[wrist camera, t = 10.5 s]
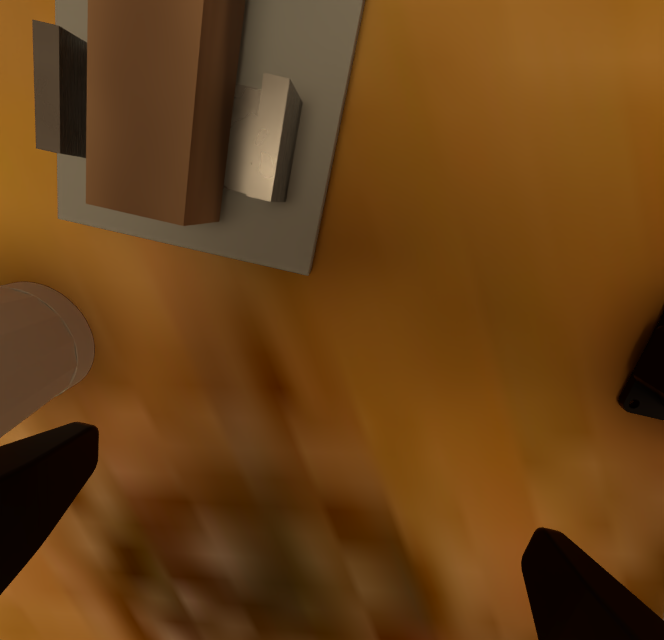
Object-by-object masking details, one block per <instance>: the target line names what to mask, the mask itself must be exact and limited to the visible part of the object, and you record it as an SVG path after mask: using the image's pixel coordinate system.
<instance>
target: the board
mask: <svg viewBox="0 0 664 640" xmlns="http://www.w3.org/2000/svg"><path fill="white" fill-rule="evenodd" d="M364 4H365V0H246V1H245V10H244V18H243V26H242V35H241V43H240V52H239V60H238V68H237V77H236V84H240V85H244V86H249V87H253V88H257V89H261V88H262V81H263V74H264V73H268V74H272V75H277V76H281V77H285V78H290V79H291V81H292V83H293V85H294V87H295V89H296V91H297V92H298V94H299V96H300V98H301V100H302V102H303V105H302V110H301V116H300V122H299V128H298V134H297V140H296V146H295V152H294V158H293V163H292V169H291V175H290V181H289V187H288V193H287V199H286V202H269V201H265V200H261V199H256V198H252V197H248V196H247V194H245V193H241V192H236V191H232V190H228V189H223V195H222V203H221V211H220V220H219V222H213V223H205V224H196V225H188V226H181V225H177V224H172V223H168V222H163V221H159V220H155V219H150V218H146V217H142V216H137V215H133V214H128V213H124V212H120V211H115V210H111V209H107V208H102V207H98V206H94V205H89V204H86V158H82V157H77V156H71V155H65V154H59V153H57V180H58V219H62V220H66V221H71V222H75V223H80V224H84V225H88V226H93V227H97V228H101V229H106V230H110V231H115V232H119V233H123V234H128V235H132V236H136V237H141V238H145V239H150V240H154V241H158V242H163V243H167V244H171V245H176V246H180V247H185V248H189V249H193V250H198V251H202V252H206V253H211V254H215V255H220V256H224V257H228V258H233V259H237V260H241V261H246V262H250V263H255V264H259V265H263V266H268V267H272V268H276V269H281V270H285V271H290V272H294V273H298V274H303V275H307V276H308V275H309V274H310V272H311V268H312V263H313V258H314V253H315V248H316V243H317V238H318V233H319V228H320V223H321V218H322V213H323V208H324V203H325V198H326V193H327V188H328V183H329V178H330V173H331V168H332V163H333V158H334V153H335V148H336V144H337V139H338V134H339V129H340V124H341V119H342V114H343V109H344V104H345V99H346V94H347V89H348V84H349V79H350V74H351V69H352V64H353V59H354V54H355V49H356V44H357V39H358V34H359V29H360V24H361V19H362V14H363V9H364ZM55 20H56V25H58V26H60V27H62V28H63V29H65V30H67V31H68V32H70V33H72V34H73V35H75V36H77V37H79V38H80V39H82V40H84V41H85V42H87V20H88V0H55Z"/></svg>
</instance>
